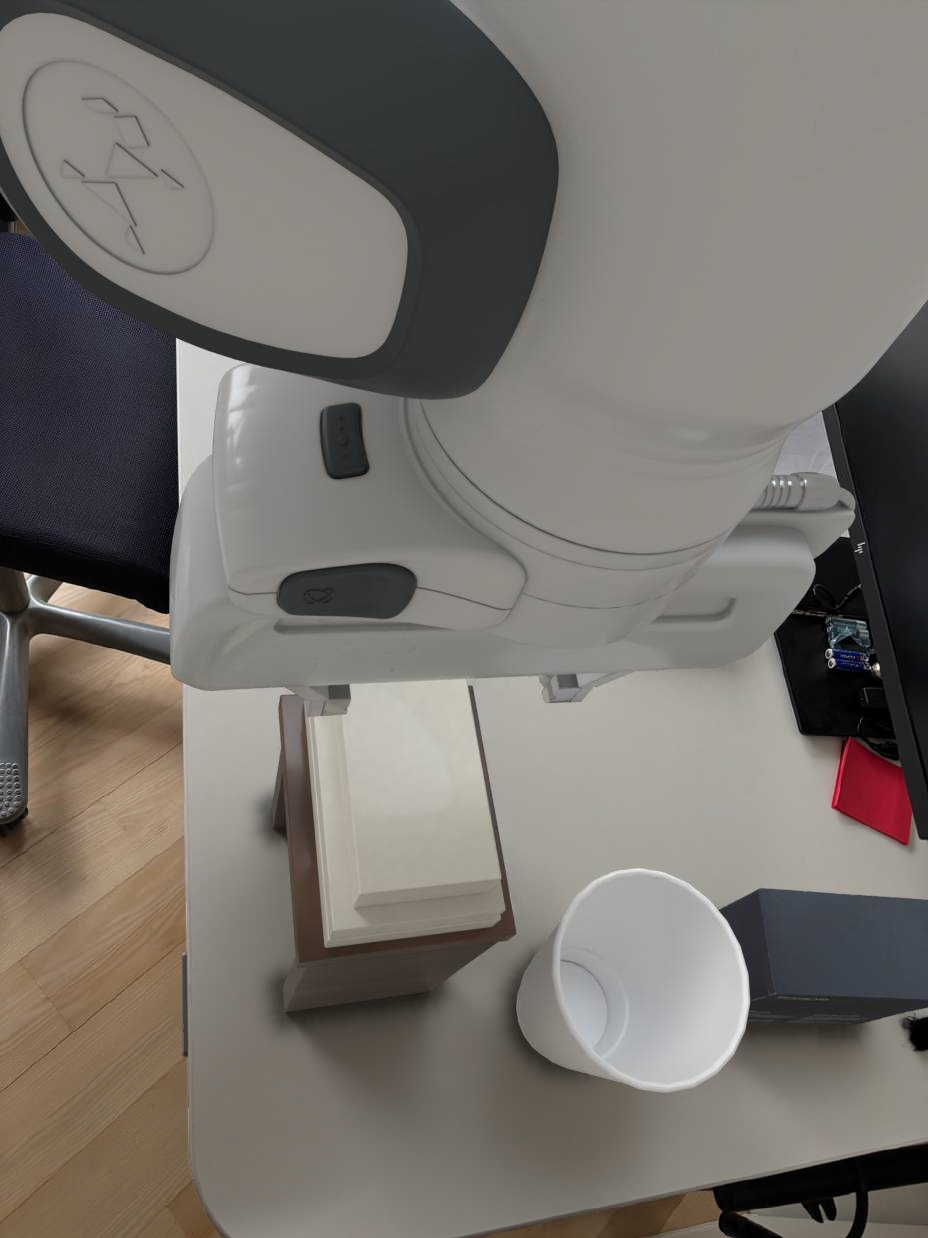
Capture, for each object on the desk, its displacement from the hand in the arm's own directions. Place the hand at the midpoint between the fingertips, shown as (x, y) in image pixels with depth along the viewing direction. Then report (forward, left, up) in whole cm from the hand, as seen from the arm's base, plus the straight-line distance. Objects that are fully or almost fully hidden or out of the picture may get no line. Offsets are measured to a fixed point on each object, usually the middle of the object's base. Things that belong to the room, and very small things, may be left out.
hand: (444, 692), depth 36 cm
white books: (0, 0, -15) cm, 15 cm away
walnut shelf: (0, 0, -35) cm, 35 cm away
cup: (+16, +6, -35) cm, 39 cm away
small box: (+26, +20, -35) cm, 48 cm away
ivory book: (0, 0, -11) cm, 11 cm away
